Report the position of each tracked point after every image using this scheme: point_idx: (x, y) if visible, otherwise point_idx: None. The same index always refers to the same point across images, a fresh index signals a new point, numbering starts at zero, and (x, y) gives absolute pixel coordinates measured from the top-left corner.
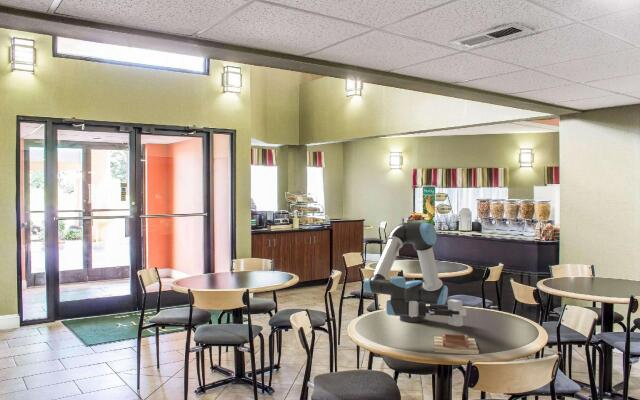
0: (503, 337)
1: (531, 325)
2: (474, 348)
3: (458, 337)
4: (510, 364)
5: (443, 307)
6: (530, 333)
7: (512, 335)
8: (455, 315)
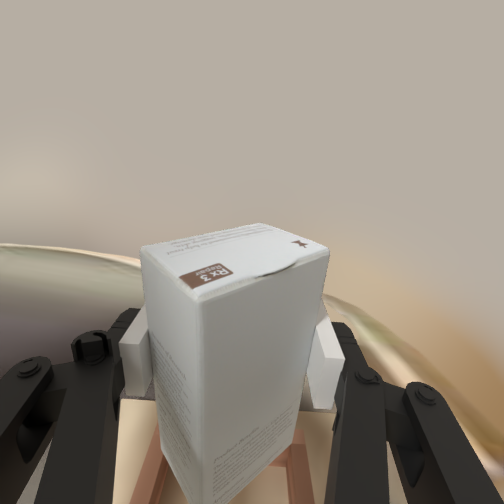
0: (95, 311)
1: (4, 248)
2: (301, 425)
3: (157, 487)
4: (398, 348)
5: (102, 475)
6: (80, 262)
7: (82, 291)
8: (296, 383)
